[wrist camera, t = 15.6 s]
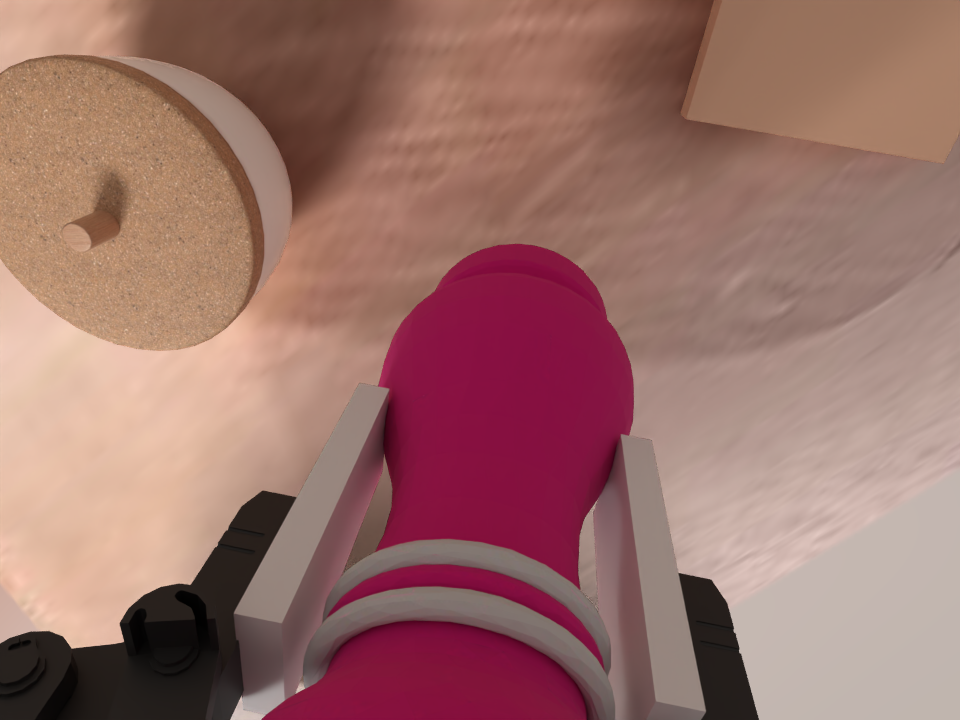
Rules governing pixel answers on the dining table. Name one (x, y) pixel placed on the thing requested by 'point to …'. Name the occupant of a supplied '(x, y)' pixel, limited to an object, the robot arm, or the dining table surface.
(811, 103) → the tile
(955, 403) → the dining table surface
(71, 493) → the dining table surface
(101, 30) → the dining table surface
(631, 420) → the pepper mill
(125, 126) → the lidded jar
